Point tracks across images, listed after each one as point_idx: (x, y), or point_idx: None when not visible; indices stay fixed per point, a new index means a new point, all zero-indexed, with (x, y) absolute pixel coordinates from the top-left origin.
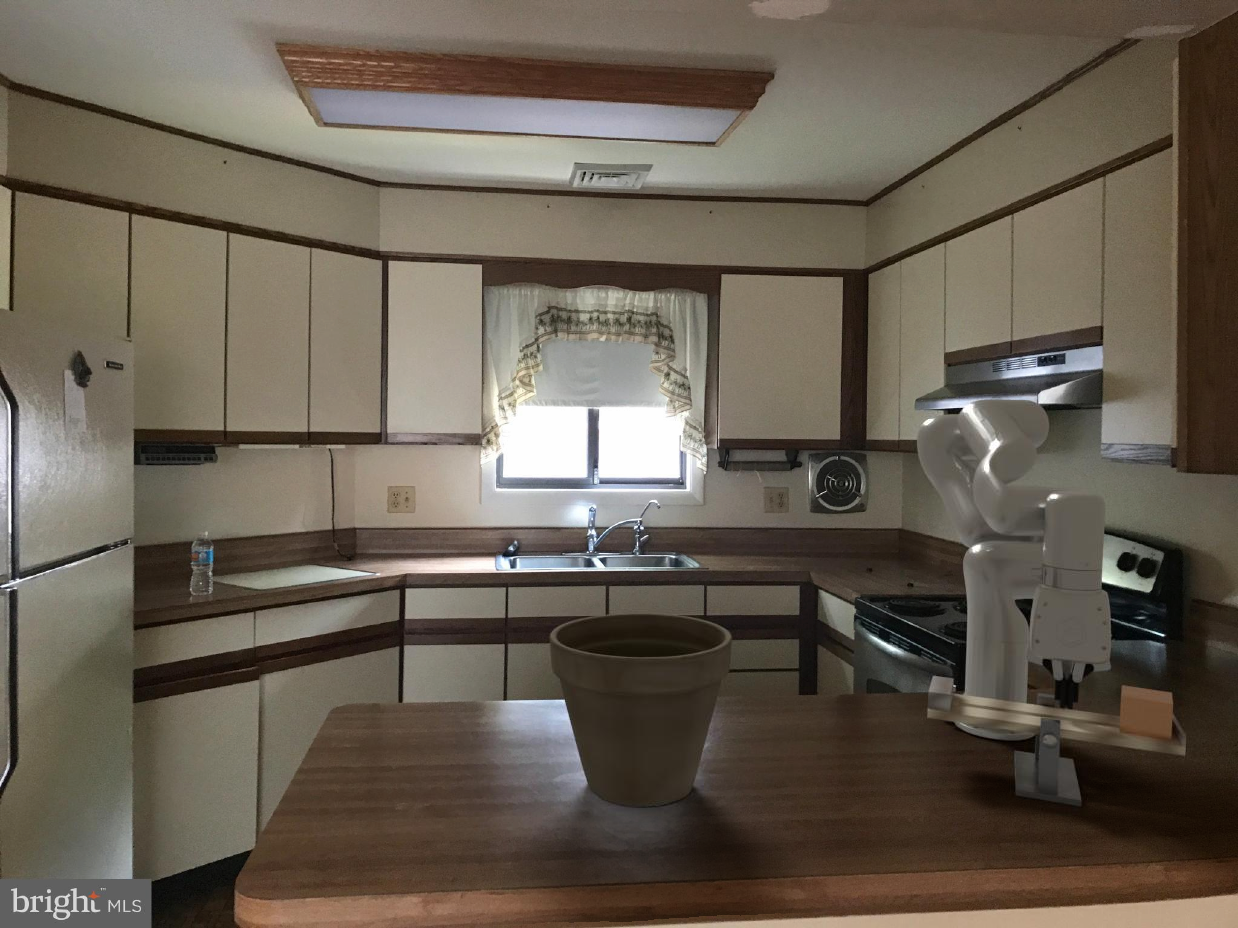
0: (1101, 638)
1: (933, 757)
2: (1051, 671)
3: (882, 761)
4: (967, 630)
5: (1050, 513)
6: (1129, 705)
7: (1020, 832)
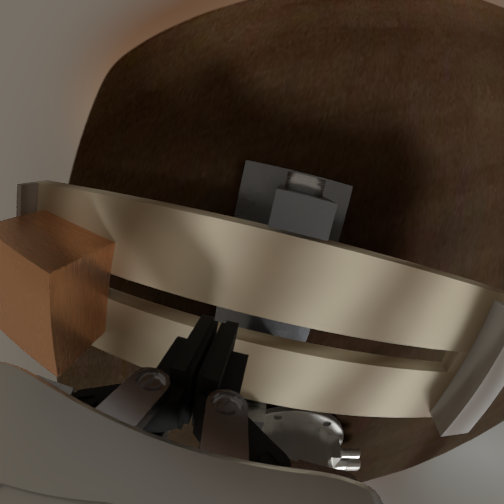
0: None
1: None
2: (251, 430)
3: (490, 285)
4: None
5: None
6: (51, 255)
7: (369, 51)
